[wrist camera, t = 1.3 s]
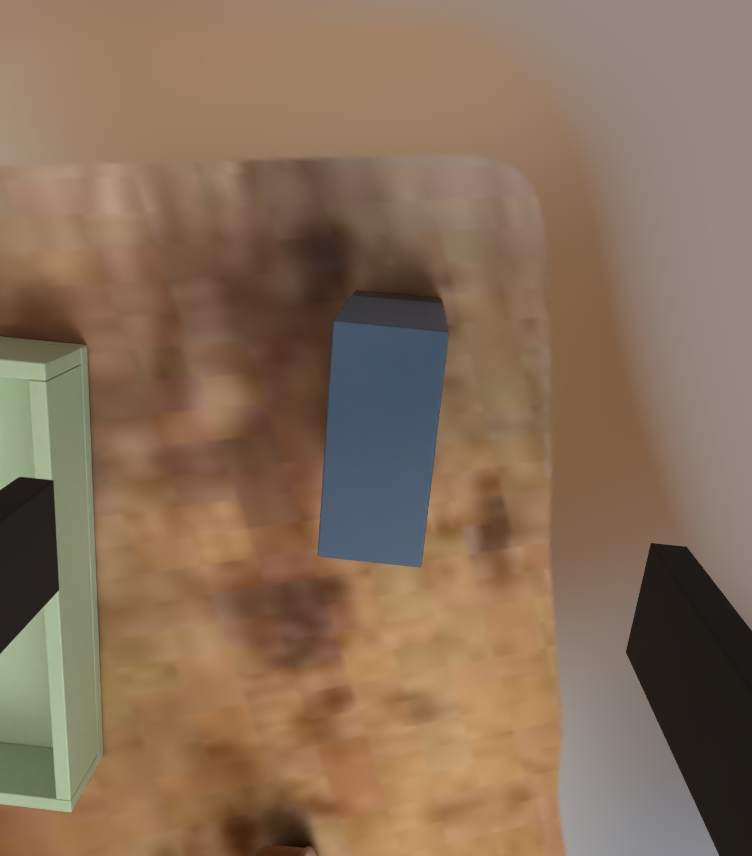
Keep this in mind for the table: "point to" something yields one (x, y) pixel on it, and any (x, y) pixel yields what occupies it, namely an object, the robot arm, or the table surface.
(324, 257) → the table surface
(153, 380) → the table surface
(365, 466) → the eraser
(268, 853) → the tin
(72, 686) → the tray
